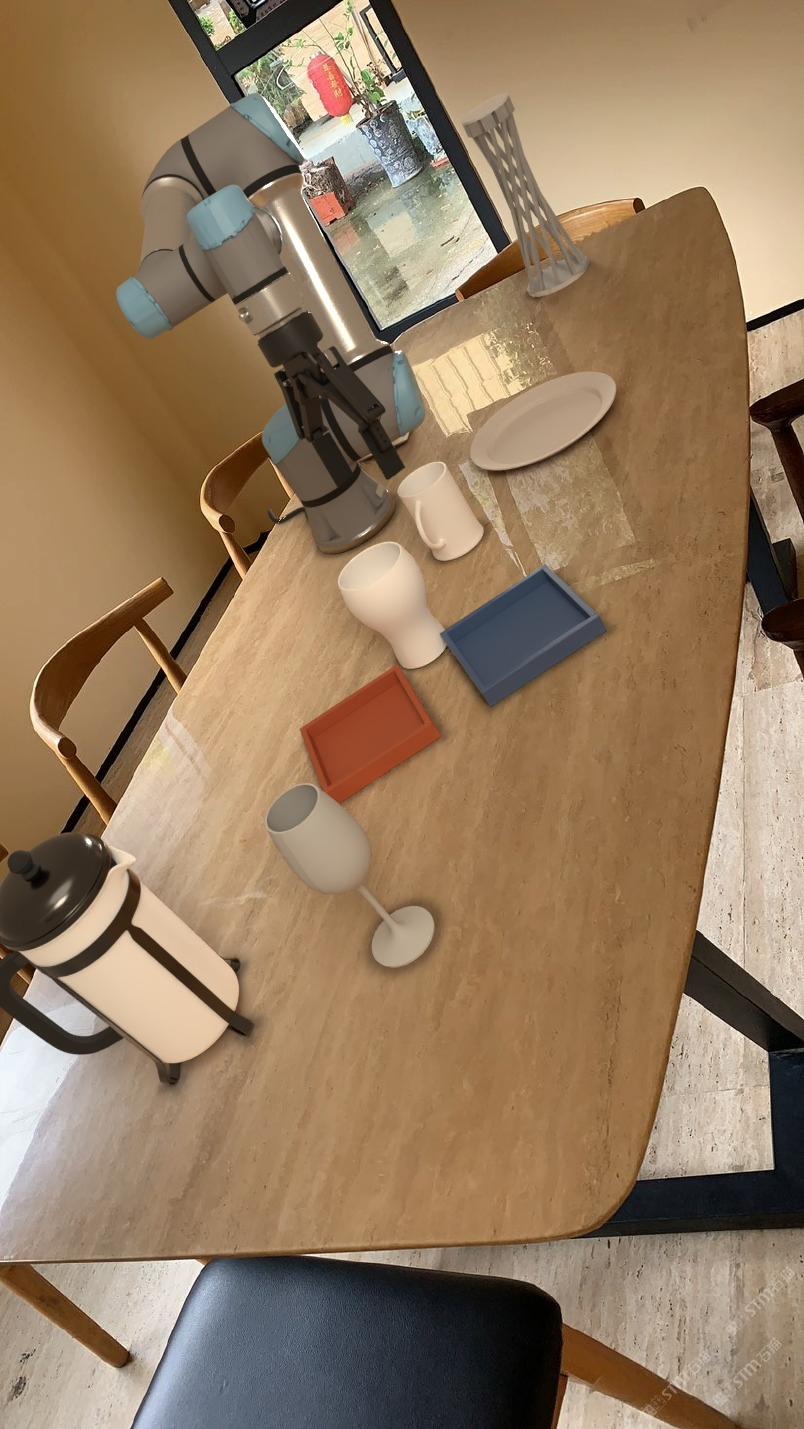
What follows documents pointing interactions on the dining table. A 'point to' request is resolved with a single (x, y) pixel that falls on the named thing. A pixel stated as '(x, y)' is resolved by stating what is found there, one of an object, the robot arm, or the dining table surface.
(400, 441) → the dessert
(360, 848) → the wineglass
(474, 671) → the mug tray
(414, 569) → the cup
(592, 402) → the plate
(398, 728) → the cup tray
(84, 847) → the coffee press
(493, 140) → the grey lattice tower
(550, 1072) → the dining table surface
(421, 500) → the mug
